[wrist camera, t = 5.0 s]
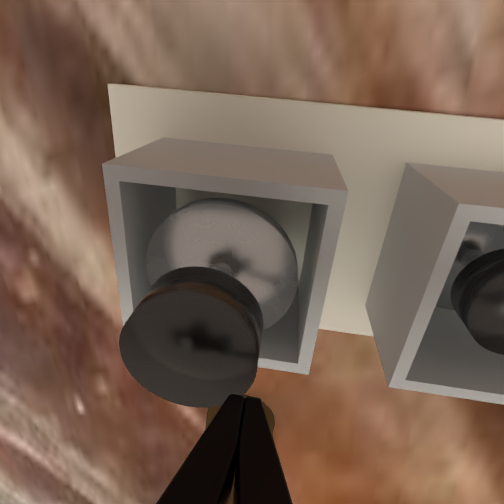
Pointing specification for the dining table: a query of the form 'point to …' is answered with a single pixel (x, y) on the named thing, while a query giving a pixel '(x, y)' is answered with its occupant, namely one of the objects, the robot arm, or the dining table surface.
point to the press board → (323, 215)
